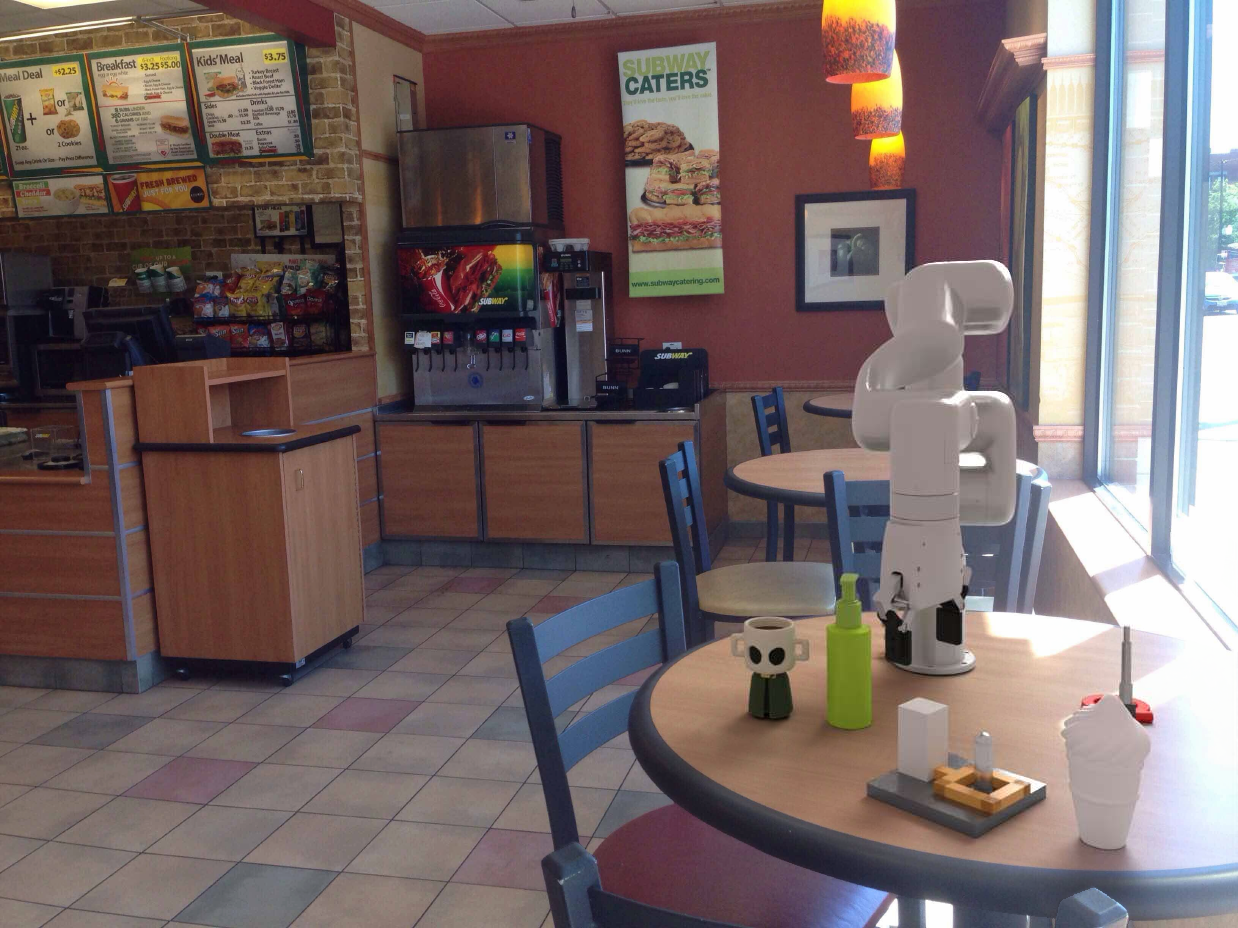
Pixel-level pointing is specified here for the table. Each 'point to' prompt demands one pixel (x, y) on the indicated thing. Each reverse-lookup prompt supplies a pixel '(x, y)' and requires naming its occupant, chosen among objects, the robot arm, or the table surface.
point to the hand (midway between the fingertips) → (924, 652)
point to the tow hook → (1126, 686)
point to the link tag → (946, 759)
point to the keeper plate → (947, 811)
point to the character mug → (770, 662)
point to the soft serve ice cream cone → (1105, 769)
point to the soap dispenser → (849, 662)
